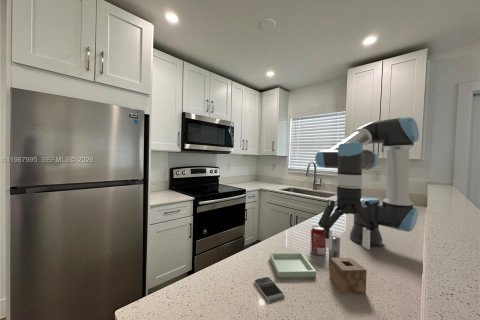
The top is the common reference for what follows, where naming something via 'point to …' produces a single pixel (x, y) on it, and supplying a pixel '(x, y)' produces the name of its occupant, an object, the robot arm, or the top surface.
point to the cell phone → (269, 289)
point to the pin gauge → (334, 248)
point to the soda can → (318, 240)
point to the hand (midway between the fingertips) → (347, 247)
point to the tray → (292, 265)
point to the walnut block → (348, 276)
